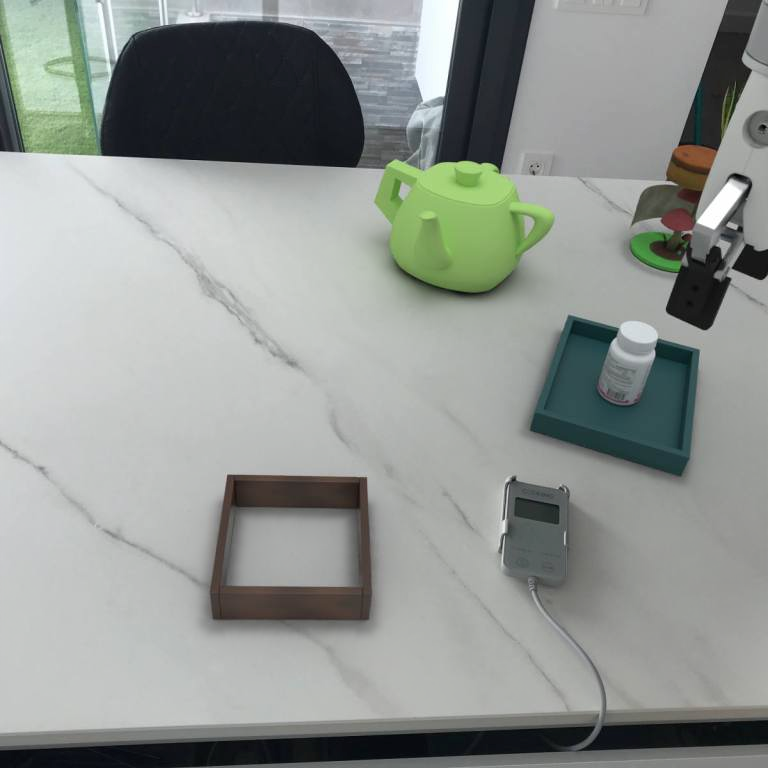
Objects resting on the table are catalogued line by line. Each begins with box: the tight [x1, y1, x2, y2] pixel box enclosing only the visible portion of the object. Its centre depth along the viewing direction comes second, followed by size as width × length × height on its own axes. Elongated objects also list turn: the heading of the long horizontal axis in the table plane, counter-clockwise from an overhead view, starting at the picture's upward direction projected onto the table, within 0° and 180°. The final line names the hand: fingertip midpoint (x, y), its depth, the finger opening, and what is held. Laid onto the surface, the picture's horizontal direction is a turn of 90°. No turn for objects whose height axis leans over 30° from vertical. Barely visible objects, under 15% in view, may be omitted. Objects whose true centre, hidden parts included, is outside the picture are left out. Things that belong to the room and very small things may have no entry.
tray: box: [529, 314, 701, 477], centre depth 86 cm, size 20×16×3 cm
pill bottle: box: [598, 320, 659, 405], centre depth 83 cm, size 5×5×8 cm
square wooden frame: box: [209, 473, 373, 621], centre depth 65 cm, size 12×12×4 cm
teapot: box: [373, 158, 555, 293], centre depth 101 cm, size 19×20×14 cm
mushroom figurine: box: [629, 144, 718, 273], centre depth 108 cm, size 12×13×15 cm
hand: (717, 295), depth 56 cm, fingers open, 9 cm apart
